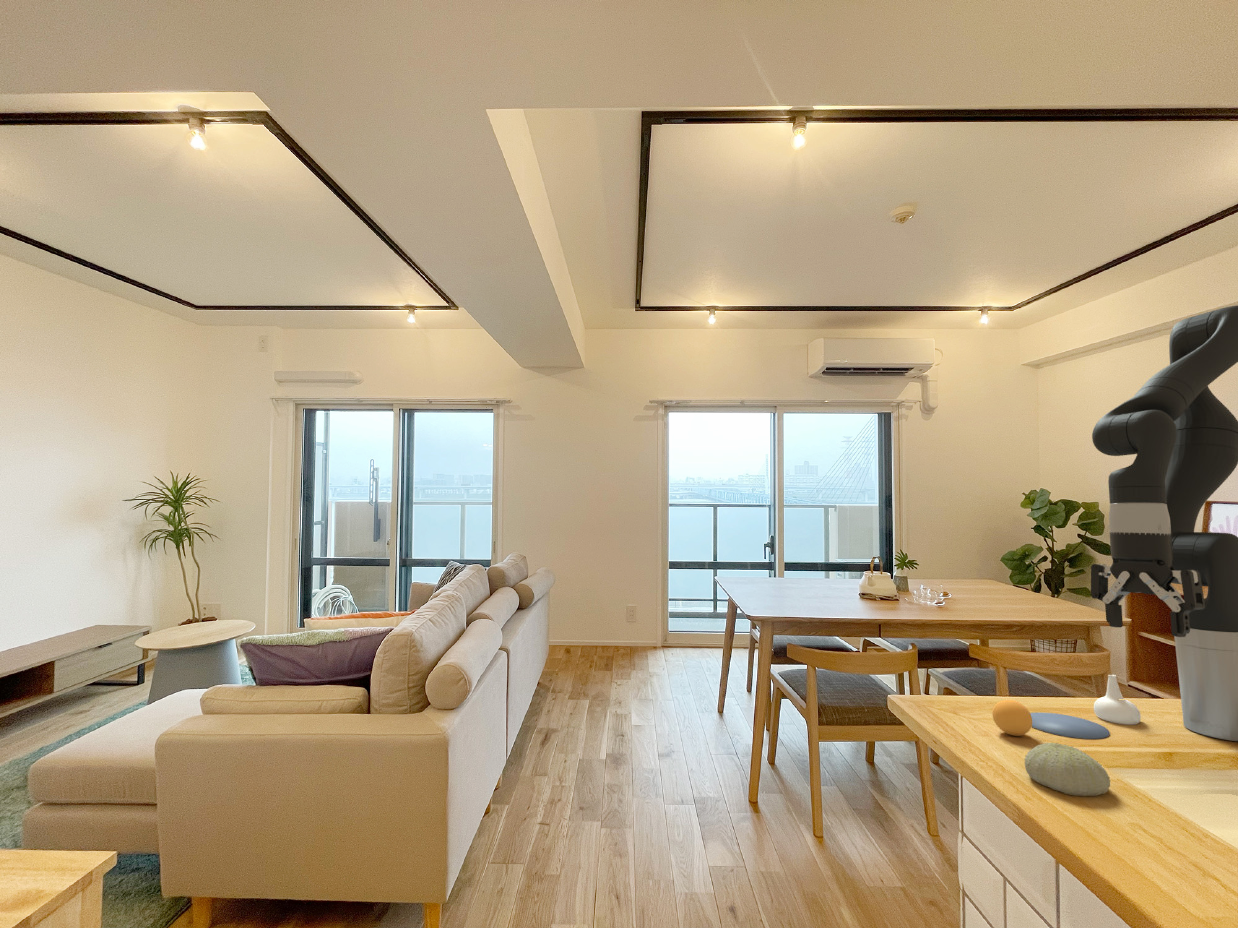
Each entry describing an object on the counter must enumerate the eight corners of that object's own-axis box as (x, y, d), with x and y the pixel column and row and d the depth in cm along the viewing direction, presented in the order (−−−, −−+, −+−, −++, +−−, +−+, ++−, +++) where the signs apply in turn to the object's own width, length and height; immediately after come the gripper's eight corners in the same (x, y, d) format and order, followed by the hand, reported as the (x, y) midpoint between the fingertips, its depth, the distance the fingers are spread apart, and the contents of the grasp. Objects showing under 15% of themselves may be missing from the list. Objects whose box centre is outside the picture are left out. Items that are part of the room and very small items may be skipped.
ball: (1009, 726, 97) (1007, 693, 98) (1041, 738, 92) (1039, 703, 93) (985, 730, 96) (983, 697, 96) (1017, 742, 90) (1014, 707, 91)
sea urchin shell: (1098, 761, 79) (1104, 733, 75) (1112, 821, 74) (1119, 795, 70) (1020, 748, 84) (1021, 721, 80) (1027, 804, 79) (1029, 778, 74)
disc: (1052, 710, 105) (1052, 709, 105) (1127, 733, 94) (1127, 732, 94) (1005, 718, 101) (1005, 716, 101) (1077, 743, 90) (1077, 741, 90)
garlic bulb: (1135, 720, 101) (1130, 673, 103) (1146, 728, 96) (1140, 679, 97) (1091, 714, 104) (1086, 669, 106) (1099, 722, 99) (1094, 674, 100)
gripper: (1209, 532, 87) (1218, 639, 86) (1106, 531, 101) (1111, 623, 99) (1178, 531, 85) (1186, 641, 83) (1077, 529, 99) (1082, 624, 97)
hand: (1146, 631), depth 91 cm, fingers open, 8 cm apart
